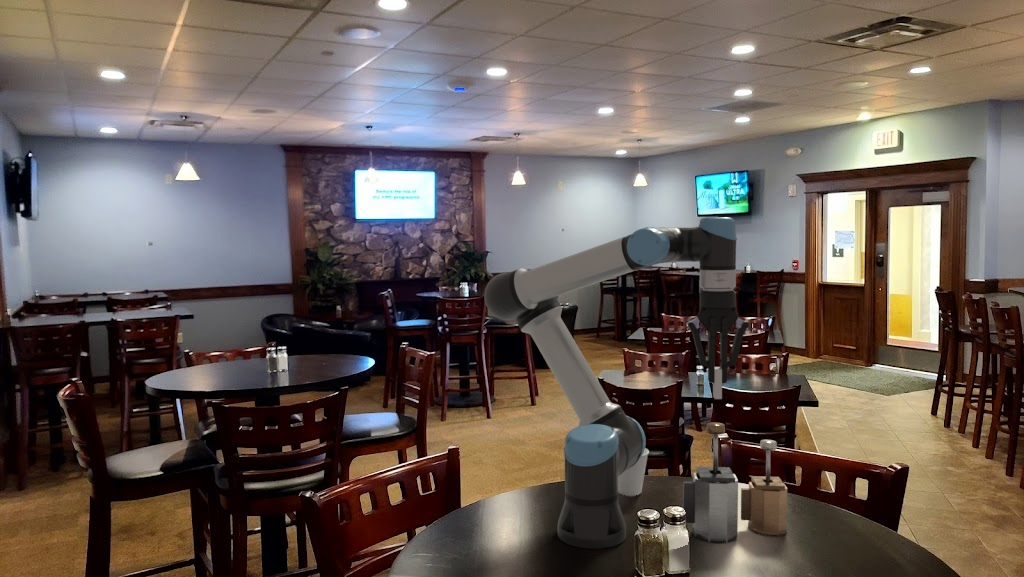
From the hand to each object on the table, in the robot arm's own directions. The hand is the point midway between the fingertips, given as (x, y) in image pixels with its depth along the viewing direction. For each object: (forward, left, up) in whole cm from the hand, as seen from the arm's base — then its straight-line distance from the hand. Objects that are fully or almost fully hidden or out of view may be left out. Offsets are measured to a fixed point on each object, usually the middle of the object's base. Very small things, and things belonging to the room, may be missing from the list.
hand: (717, 397), depth 158 cm
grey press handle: (+12, +4, -22) cm, 25 cm away
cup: (-18, +24, -31) cm, 43 cm away
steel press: (0, 0, -31) cm, 31 cm away
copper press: (+12, +4, -31) cm, 33 cm away
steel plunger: (0, 0, -19) cm, 19 cm away
